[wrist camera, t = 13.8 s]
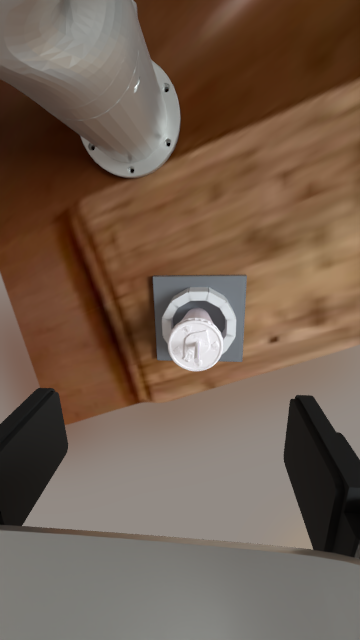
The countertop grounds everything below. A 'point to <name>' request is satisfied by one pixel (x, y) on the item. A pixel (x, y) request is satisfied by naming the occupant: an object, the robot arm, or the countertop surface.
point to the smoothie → (195, 341)
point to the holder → (209, 294)
